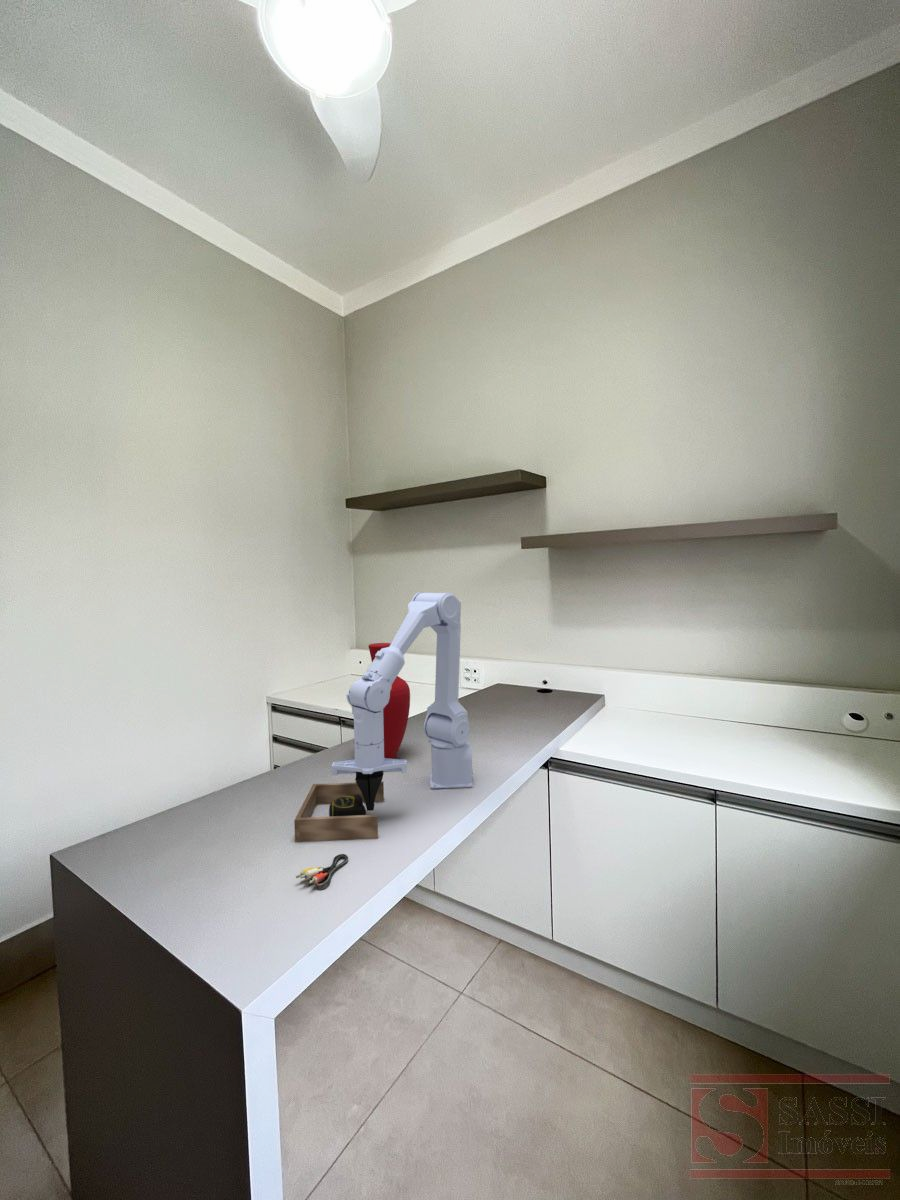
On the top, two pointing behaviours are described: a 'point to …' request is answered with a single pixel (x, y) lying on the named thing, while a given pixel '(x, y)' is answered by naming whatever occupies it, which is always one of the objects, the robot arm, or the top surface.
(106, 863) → the top surface
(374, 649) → the vase
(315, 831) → the u-shaped wooden frame
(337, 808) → the tape measure
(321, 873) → the composite cable
